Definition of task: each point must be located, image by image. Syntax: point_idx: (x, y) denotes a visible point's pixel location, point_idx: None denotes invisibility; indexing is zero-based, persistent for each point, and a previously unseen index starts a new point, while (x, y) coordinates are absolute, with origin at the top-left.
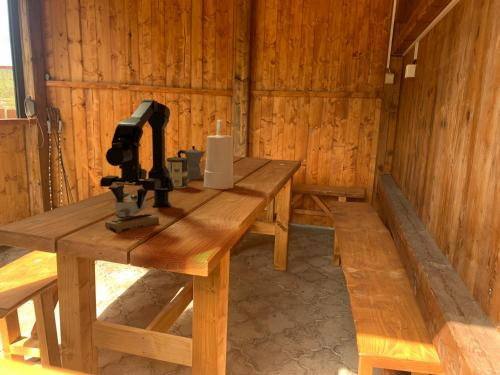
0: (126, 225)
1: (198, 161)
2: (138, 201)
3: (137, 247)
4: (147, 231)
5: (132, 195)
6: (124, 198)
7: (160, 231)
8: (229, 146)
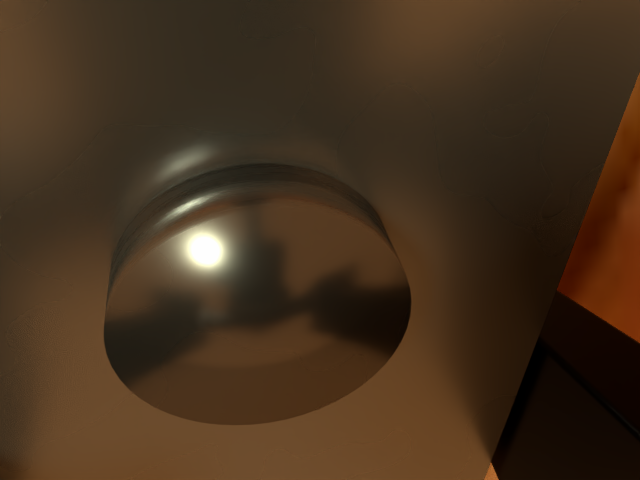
0: None
1: None
2: (505, 463)
3: (488, 470)
4: None
5: (162, 324)
6: (18, 460)
7: (622, 191)
8: None
